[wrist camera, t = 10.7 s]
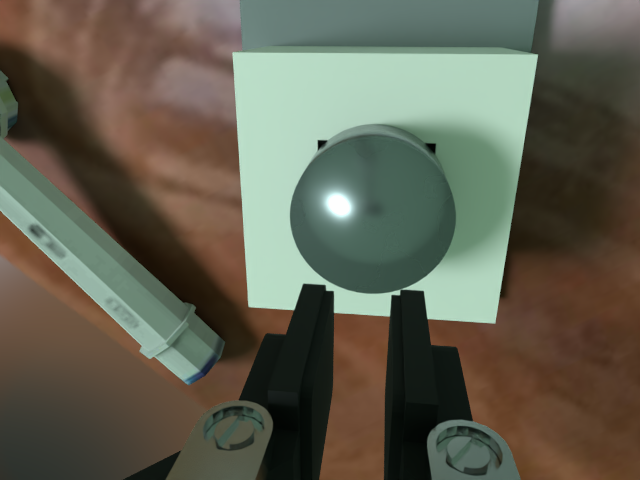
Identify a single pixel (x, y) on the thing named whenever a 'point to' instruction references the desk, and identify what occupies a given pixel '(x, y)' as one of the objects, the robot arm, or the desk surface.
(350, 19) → the hitch block
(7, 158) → the white flashlight
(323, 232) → the steel pin
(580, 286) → the desk surface
